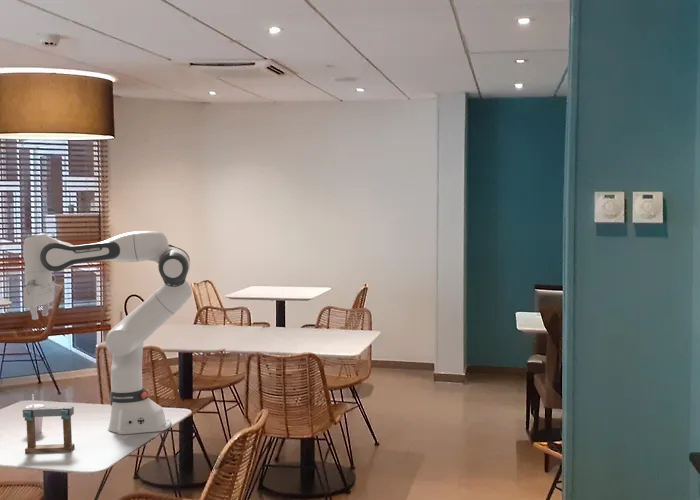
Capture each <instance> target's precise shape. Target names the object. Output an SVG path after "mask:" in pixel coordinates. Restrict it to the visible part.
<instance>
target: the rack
mask: <svg viewBox="0 0 700 500" xmlns="http://www.w3.org/2000/svg"><path fill="white" fill-rule="evenodd" d="M23 418H24V421H26V438H27V439H26V441H27V443H26V444H27V447H26V448H25V449H24V453H25V454H43V453H48V454H49V453H51V454H52V453H71V452H72V451H73V450H75V443H73V439H72V416H68V410H62V411H61V416H60V418H61V420H62V428H63V430H62V431H63V432H62V433H63V435H62V436H63V443H61V444H60V443H57V444H55V443H54V444H37V443H36V442H37V441H36V439H37V438H36V434H35V417H32V415H31V411H30V412H24V417H23Z"/></svg>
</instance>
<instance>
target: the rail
mask: <svg viewBox="0 0 700 500" xmlns="http://www.w3.org/2000/svg"><path fill="white" fill-rule="evenodd" d="M74 408H75V407H74V405H73V406H48V407H46V406H44V407H42V408H26V407H25V408H23V409H22V418H25V417H24V412H30V411H31V415H32V417H43V418H45V417H61V411H62V410H68V416H71V417H72V416H73V415H74V414H75V409H74Z"/></svg>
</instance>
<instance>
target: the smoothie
mask: <svg viewBox="0 0 700 500" xmlns="http://www.w3.org/2000/svg"><path fill="white" fill-rule="evenodd" d="M31 402H32V403H31V404H29V405H26V406H25V408H42V407H45V405H44V404H43V403H36V404H35V397H34V394H33V393H32V394H31ZM43 418H44V417H35V435H37V434H40V433H42V431H43V430H42V428H43Z"/></svg>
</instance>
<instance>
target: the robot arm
mask: <svg viewBox="0 0 700 500" xmlns="http://www.w3.org/2000/svg"><path fill="white" fill-rule="evenodd" d="M22 251H23V253H22V254H23V262H24V271H23V272H24V285H25V287H23V307H24V308H25V309H29V311H30V314H31V319H32V320H33V321H35V320H39V318H40V317H39V314H38V307H41V306H42V311H41V316H42V317H47V316H48V315H49V309H50V303H52V302H54V301H55V295H56V294H55V292H56V291H55V289H56V288H55V287H56V285H55V282H56V276H55V274H53V273H56V272H61V271H64V270H65V269H69V268H71V267H73V266H74V265H76V264H84V263H90V262H91V263H92V262H116V263H138V262H145V261H148V262H149V261H150V262H151V261H152V262H155V263H157V264H158V267H157V269H158V272H159V275H160V277H161V279H162V281H163V283H162V284H161V285H160V286H159V287H158V288H157V289H156V290H155V291H154V292H153V293H152V294H150V295H149V296H148V297H147V298H146V299H144V300H143V302H142V303H139V305H138V306H137V307H135V309H133V310H132V311H131V312H129V313H128V314H127V315H126V316H125V317H124V318H122V319H121V320H120V321H119V322H118V323H117V324H115V325H114V326H113V327H112V328H111V329H110V330H109V331H108V333H107V334H106V338H105V347H106V349H107V351H108V352H109V353H111V354H112V358H111V359H112V361H111V365H110V385H111V386H110V389H111V390H110V391H109V393H110V394H109V403H110V406H111V408H110V409H111V410H110V420H109V425H108V427H107V430H108V431H110V432H113V433H116V434H118V435H132V434H142V433H144V434H145V433H154V432H155V433H157V432H162V431H165V430H167V429H169V428H170V427H171V425H172V421H171V419H170V418H166V417H165V410H164V407H162V406H161V405H159V404H158V403H156V402H155V401H153V400H152V399H150V398H149V389H148V388H147V389H145V388H143V357H144V354H143V353H144V342H145V341H146V340H147V339H148V338H149V337H151V336H152V335H153V334H154V333H155V332H156V331H157V330H159V328H160V327H162V326H163V325H164V324H166V322H168V321H169V320H171V318H172V317H173V316H175V314H176V313H178V312H179V311H180V310H181V309H182V308H183V307H184V306H185V305H186V303H187V302H188V301H189V299H191V297H192V292H193V290H192V287H191V285H190V284H189V282H188V281H187V280H186V279H187V275H188V273H189V270H190V267H191V259H190V256H189V255H188V253H187V251H185V250H184V249H182V248H180V247H177V246H174V245H172V244H169V242H168V237H167V236H166V235H165V234H164V233H163V232H161V231H158V230H157V231H156V230H139V231H138V230H137V231H130V232H129V231H128V232H124V233H121V234H118V235H115V236H111V237H110V238H107V239H105V240H103V241H99V242H93V243H88V244H87V243H86V244H77V245H73V243H70V242H67V241H63V240H59V239H56V238H54V237H52V236H50V235H48V234H47V233H44V232H43V233H37V234H32V235H29V236H27V237H25V239H24V241H23V249H22ZM52 272H53V273H52Z"/></svg>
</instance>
